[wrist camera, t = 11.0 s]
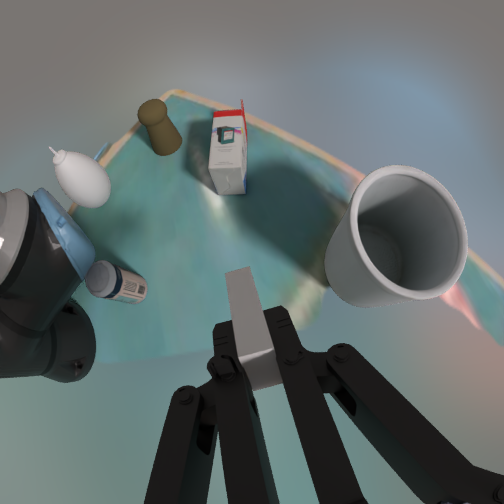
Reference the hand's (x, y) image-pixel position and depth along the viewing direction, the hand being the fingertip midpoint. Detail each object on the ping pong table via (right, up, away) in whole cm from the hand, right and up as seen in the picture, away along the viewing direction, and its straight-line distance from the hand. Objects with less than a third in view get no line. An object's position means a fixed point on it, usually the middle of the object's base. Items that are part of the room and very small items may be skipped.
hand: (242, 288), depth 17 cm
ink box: (-3, +12, +25) cm, 28 cm away
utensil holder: (+18, 0, +25) cm, 31 cm away
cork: (-16, +23, +33) cm, 43 cm away
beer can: (-18, -4, +26) cm, 32 cm away
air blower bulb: (-28, +12, +31) cm, 43 cm away
